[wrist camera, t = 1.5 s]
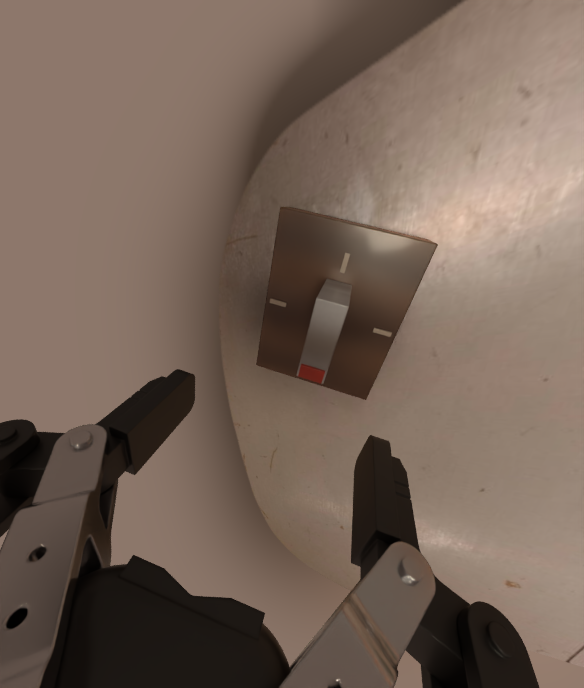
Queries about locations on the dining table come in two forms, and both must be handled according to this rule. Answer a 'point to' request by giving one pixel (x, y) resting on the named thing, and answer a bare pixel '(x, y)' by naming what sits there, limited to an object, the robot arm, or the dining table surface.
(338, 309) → the tap handle
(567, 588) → the dining table surface
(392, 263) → the panel
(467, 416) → the dining table surface
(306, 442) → the dining table surface
